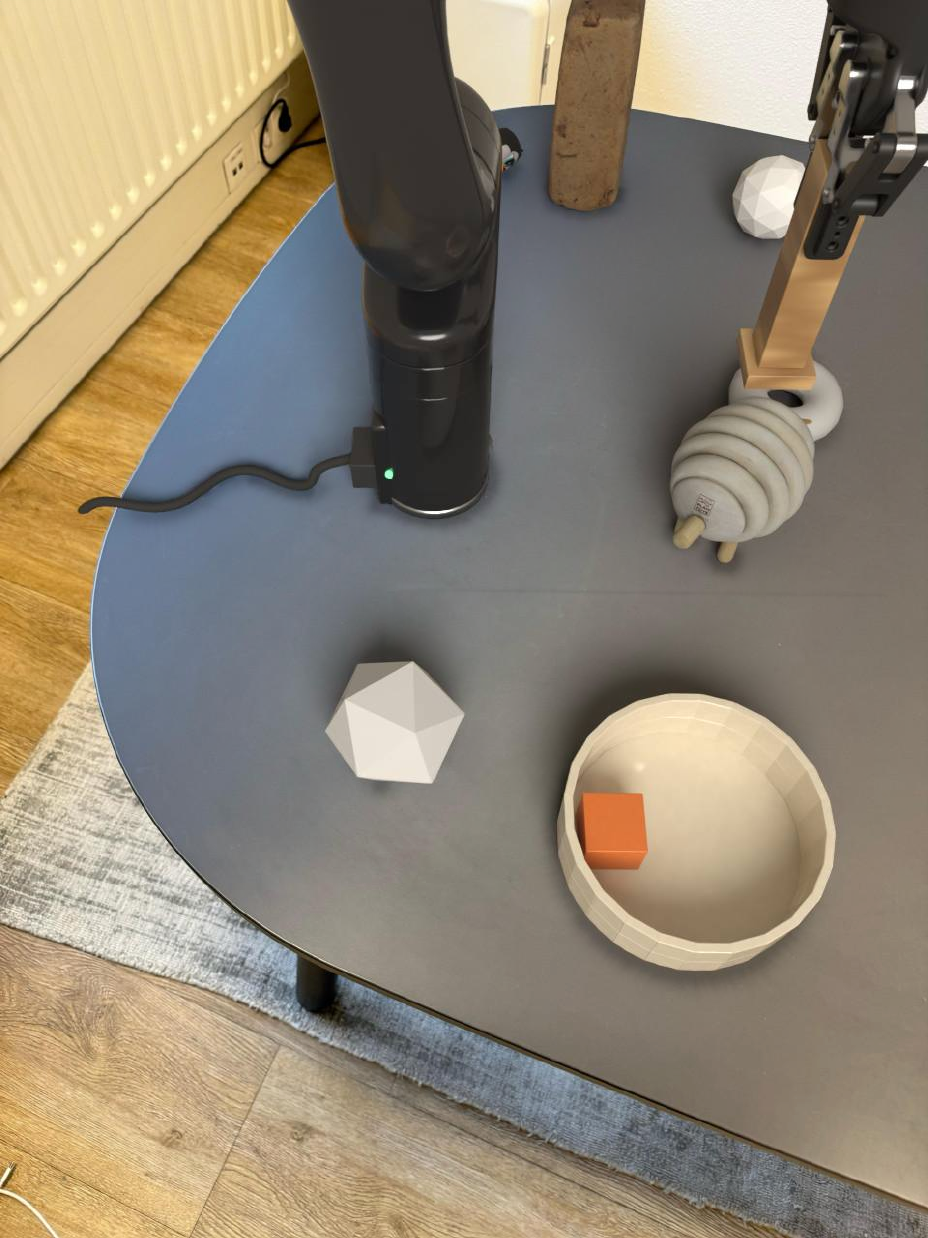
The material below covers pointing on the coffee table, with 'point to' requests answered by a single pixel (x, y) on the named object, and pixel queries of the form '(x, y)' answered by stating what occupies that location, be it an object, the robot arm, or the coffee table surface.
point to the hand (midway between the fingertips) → (816, 233)
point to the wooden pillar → (794, 297)
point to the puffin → (509, 148)
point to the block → (594, 101)
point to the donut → (805, 400)
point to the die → (394, 723)
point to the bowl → (701, 831)
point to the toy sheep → (740, 473)
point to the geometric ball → (767, 196)
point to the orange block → (612, 830)
